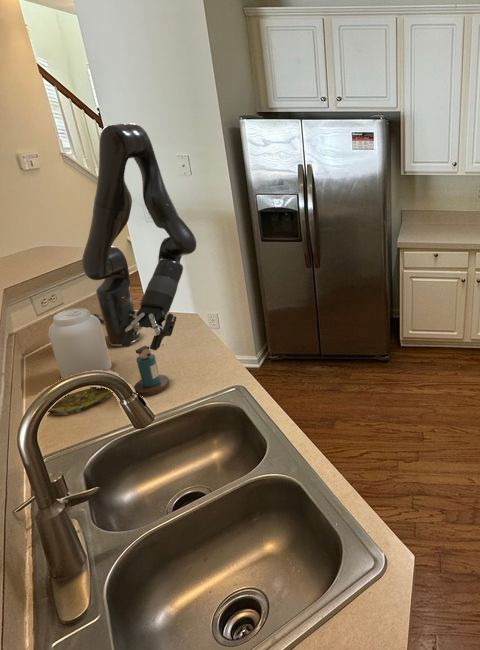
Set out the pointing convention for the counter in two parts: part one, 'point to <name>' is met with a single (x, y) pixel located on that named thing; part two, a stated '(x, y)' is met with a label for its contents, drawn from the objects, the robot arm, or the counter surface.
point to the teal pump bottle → (147, 367)
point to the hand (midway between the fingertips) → (139, 347)
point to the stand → (154, 389)
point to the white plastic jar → (78, 342)
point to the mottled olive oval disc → (80, 401)
